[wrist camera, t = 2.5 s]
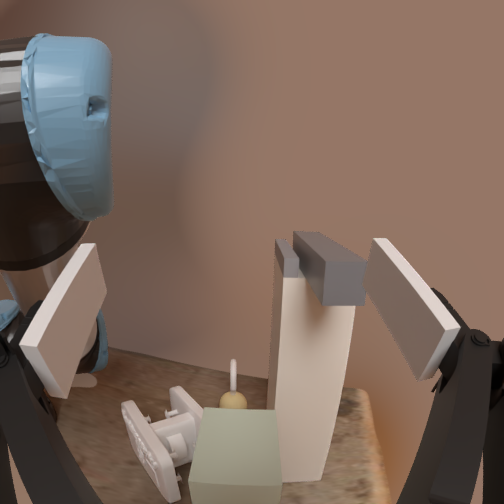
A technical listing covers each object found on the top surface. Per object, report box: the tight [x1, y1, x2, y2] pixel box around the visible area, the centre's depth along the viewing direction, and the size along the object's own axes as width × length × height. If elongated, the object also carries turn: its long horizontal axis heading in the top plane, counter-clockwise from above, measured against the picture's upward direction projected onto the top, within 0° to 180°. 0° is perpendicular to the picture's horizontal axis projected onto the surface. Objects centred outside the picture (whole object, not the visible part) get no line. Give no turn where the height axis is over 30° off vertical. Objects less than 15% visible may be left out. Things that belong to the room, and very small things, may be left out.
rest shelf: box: [188, 407, 283, 504], centre depth 25 cm, size 7×10×20 cm
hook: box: [219, 359, 247, 409], centre depth 55 cm, size 6×5×12 cm
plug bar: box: [293, 231, 368, 306], centre depth 34 cm, size 4×20×4 cm, turn 0°
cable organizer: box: [121, 386, 204, 503], centre depth 39 cm, size 15×11×12 cm
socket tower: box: [266, 239, 355, 482], centre depth 42 cm, size 8×14×34 cm, turn 0°
